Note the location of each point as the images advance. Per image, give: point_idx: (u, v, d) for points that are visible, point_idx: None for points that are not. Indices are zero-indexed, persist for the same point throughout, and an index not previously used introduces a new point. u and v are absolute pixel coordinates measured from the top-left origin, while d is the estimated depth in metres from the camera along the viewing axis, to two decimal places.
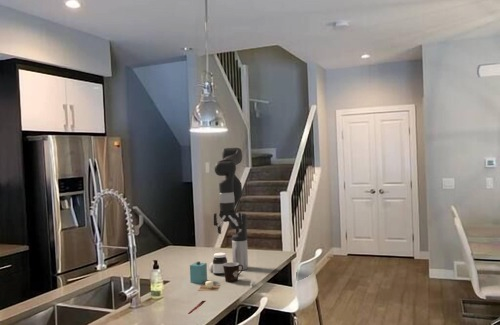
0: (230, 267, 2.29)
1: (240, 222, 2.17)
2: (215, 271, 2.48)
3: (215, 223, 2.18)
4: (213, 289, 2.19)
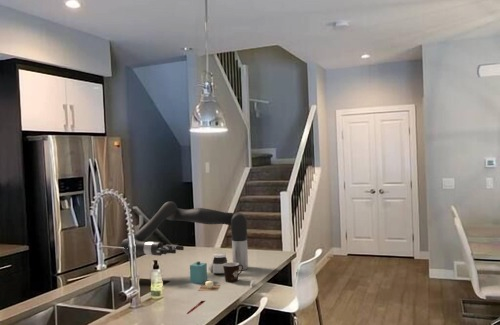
0: (230, 267, 2.29)
1: None
2: (215, 271, 2.48)
3: (176, 249, 2.46)
4: (213, 289, 2.19)
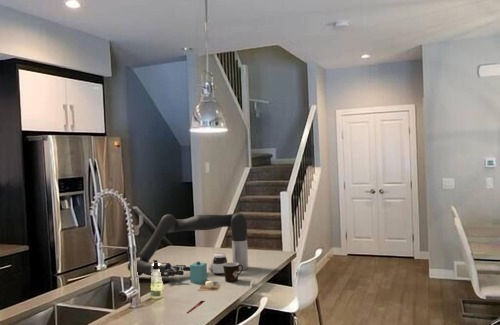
0: (230, 267, 2.29)
1: None
2: (215, 271, 2.48)
3: None
4: (213, 289, 2.19)
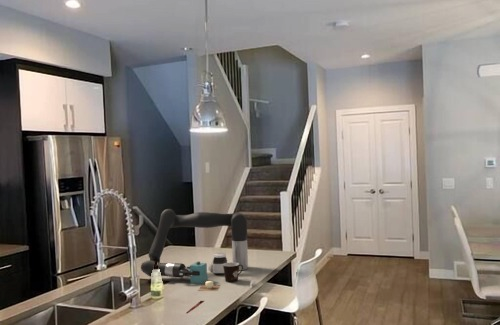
0: (230, 267, 2.29)
1: None
2: (215, 271, 2.48)
3: None
4: (213, 289, 2.19)
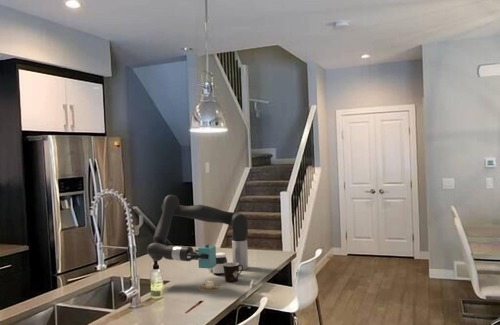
0: (230, 267, 2.29)
1: None
2: (215, 271, 2.48)
3: None
4: (213, 289, 2.19)
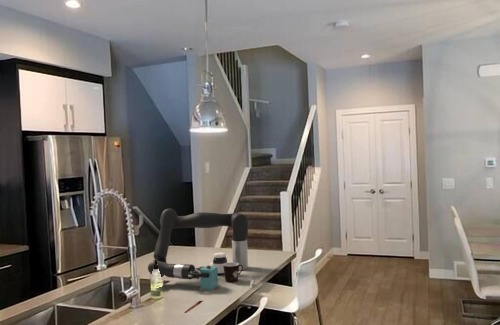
0: (230, 267, 2.29)
1: None
2: None
3: None
4: None
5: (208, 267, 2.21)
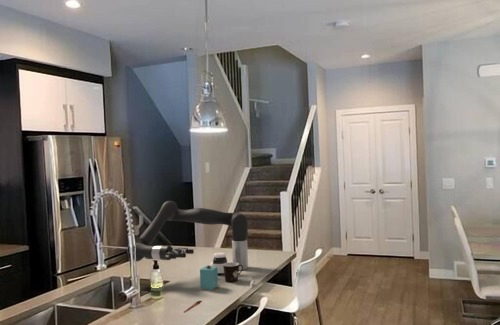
0: (230, 267, 2.29)
1: None
2: None
3: None
4: None
5: (208, 267, 2.21)
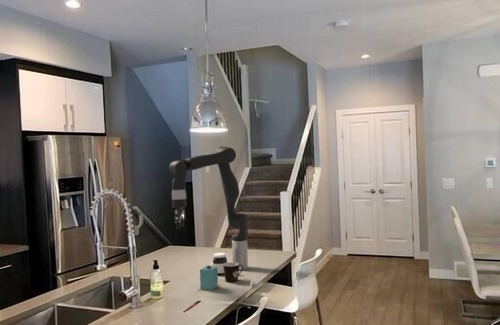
0: (230, 267, 2.29)
1: None
2: None
3: None
4: None
5: (208, 267, 2.21)
